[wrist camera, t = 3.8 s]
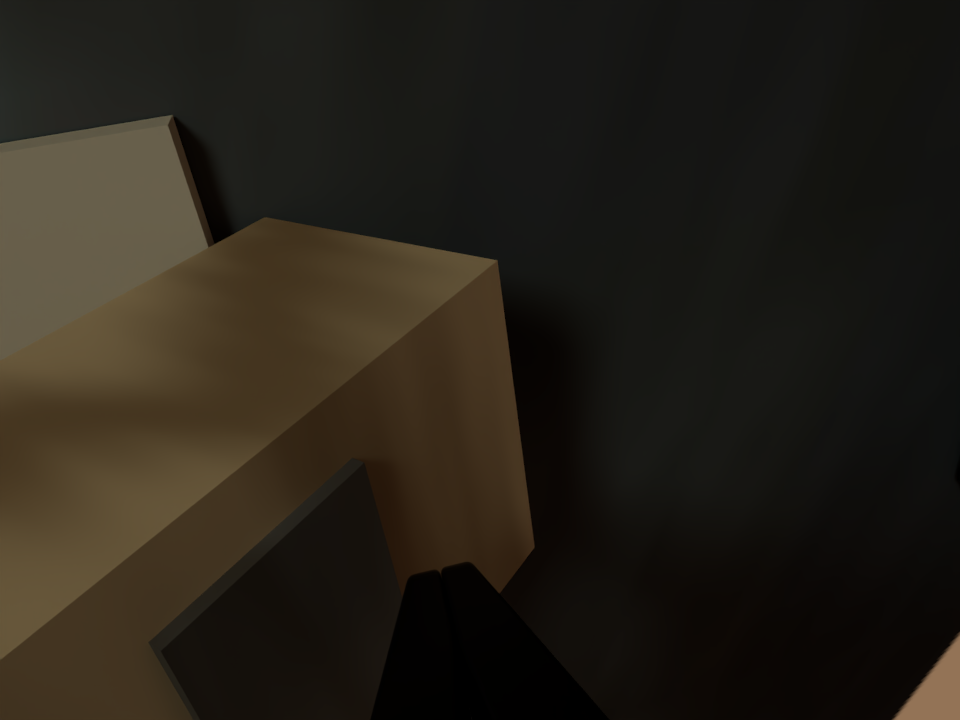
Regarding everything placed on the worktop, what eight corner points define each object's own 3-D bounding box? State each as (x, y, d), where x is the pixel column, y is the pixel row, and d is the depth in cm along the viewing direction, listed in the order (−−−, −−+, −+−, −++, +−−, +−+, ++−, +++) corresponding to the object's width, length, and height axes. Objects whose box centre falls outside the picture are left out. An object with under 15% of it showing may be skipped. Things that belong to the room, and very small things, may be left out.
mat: (172, 115, 13) (167, 124, 12) (312, 544, 18) (313, 562, 18) (-155, 168, 12) (-174, 182, 12) (92, 594, 18) (86, 616, 17)
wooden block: (509, 262, 11) (-195, 840, 5) (543, 550, 14) (135, 1101, 9) (264, 216, 14) (-377, 564, 8) (340, 468, 17) (-74, 844, 11)
